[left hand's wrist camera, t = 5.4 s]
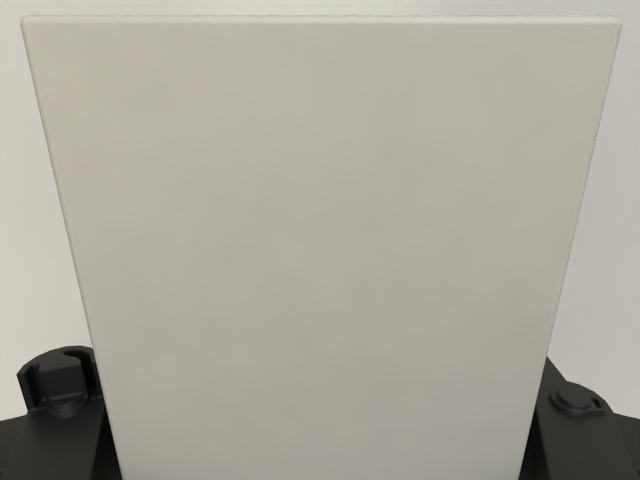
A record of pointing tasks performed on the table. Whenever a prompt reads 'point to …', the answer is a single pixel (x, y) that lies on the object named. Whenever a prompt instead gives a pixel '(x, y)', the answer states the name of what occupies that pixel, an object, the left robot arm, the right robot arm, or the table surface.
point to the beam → (320, 231)
